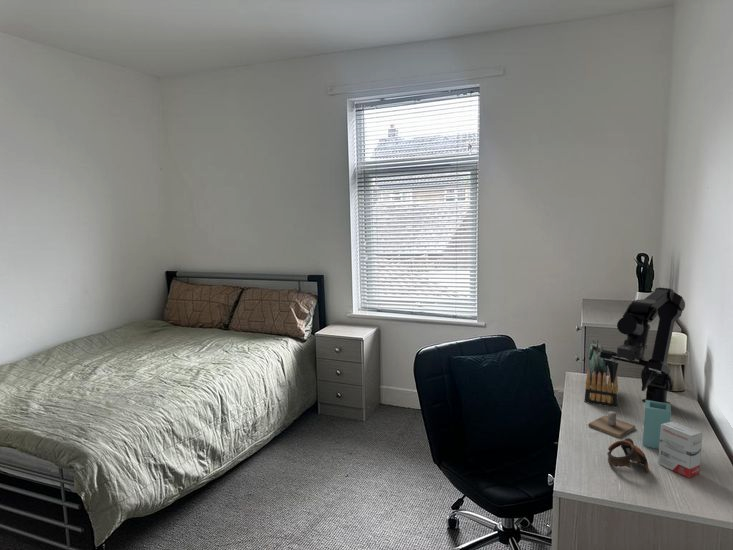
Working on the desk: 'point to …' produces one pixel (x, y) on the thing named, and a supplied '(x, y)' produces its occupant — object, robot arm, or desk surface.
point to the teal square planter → (655, 422)
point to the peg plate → (610, 429)
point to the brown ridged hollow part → (627, 454)
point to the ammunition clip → (598, 394)
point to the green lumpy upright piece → (597, 361)
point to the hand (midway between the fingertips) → (627, 387)
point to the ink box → (680, 449)
